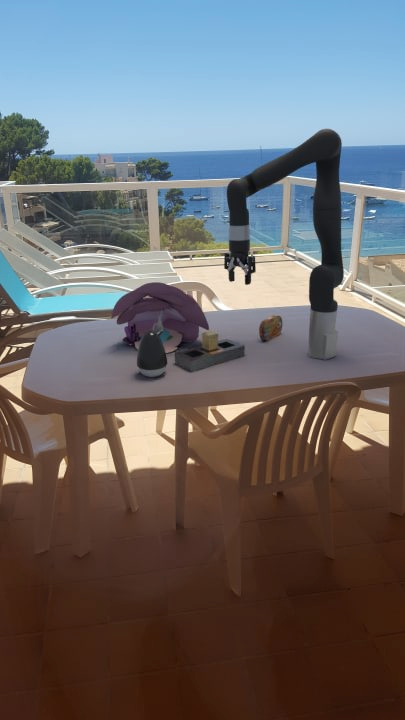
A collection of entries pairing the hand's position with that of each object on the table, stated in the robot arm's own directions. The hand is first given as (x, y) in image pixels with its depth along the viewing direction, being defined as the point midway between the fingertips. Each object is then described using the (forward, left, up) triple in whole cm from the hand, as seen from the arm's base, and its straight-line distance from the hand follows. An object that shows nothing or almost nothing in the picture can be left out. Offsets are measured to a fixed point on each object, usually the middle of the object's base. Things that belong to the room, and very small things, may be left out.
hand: (239, 282), depth 182 cm
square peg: (-5, +18, -24) cm, 30 cm away
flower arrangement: (+20, +24, -25) cm, 40 cm away
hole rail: (-5, +18, -25) cm, 31 cm away
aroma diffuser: (-3, +41, -25) cm, 48 cm away
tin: (-1, -16, -25) cm, 30 cm away
